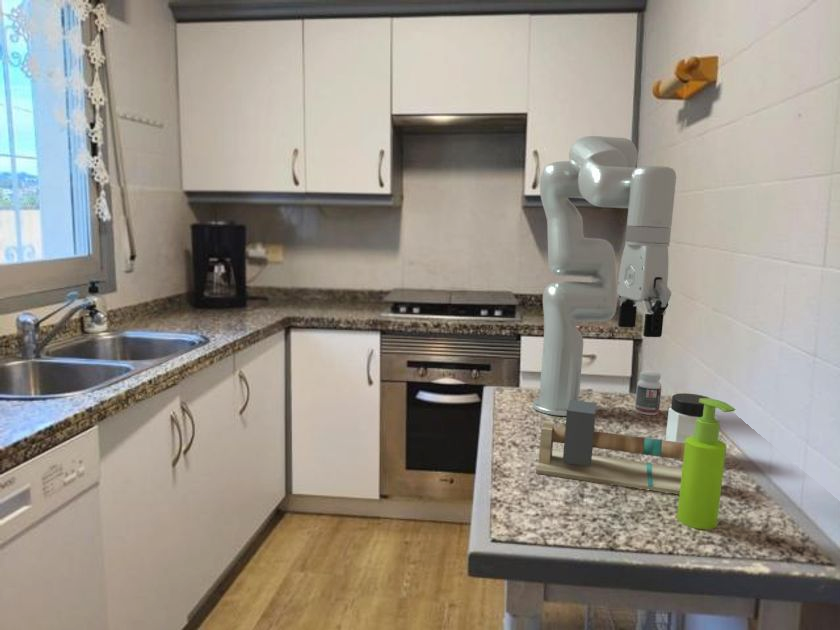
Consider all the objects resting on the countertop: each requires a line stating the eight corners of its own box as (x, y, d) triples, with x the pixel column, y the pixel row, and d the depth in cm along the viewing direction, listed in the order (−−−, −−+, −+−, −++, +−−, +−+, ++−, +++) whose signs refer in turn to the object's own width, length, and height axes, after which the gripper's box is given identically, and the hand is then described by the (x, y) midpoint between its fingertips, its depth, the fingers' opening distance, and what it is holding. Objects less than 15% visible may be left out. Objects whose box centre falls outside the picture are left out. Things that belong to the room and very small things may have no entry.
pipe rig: (543, 451, 134) (546, 416, 133) (703, 474, 126) (708, 436, 124) (535, 473, 123) (538, 434, 121) (711, 500, 114) (716, 458, 113)
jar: (692, 466, 130) (698, 406, 128) (656, 452, 136) (662, 396, 135) (718, 458, 135) (725, 401, 133) (683, 445, 141) (689, 391, 140)
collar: (566, 449, 130) (570, 399, 129) (592, 452, 129) (596, 402, 127) (562, 462, 123) (566, 410, 122) (590, 466, 122) (595, 413, 120)
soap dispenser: (702, 535, 101) (717, 408, 98) (668, 515, 108) (681, 395, 104) (730, 529, 104) (745, 405, 101) (696, 510, 110) (709, 393, 107)
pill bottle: (662, 416, 162) (666, 376, 161) (638, 415, 162) (642, 375, 161) (654, 409, 168) (658, 371, 166) (631, 408, 168) (635, 370, 166)
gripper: (606, 234, 127) (599, 323, 129) (652, 238, 110) (642, 340, 112) (643, 236, 128) (635, 323, 130) (694, 240, 111) (683, 341, 114)
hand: (638, 331), depth 121 cm, fingers open, 9 cm apart
